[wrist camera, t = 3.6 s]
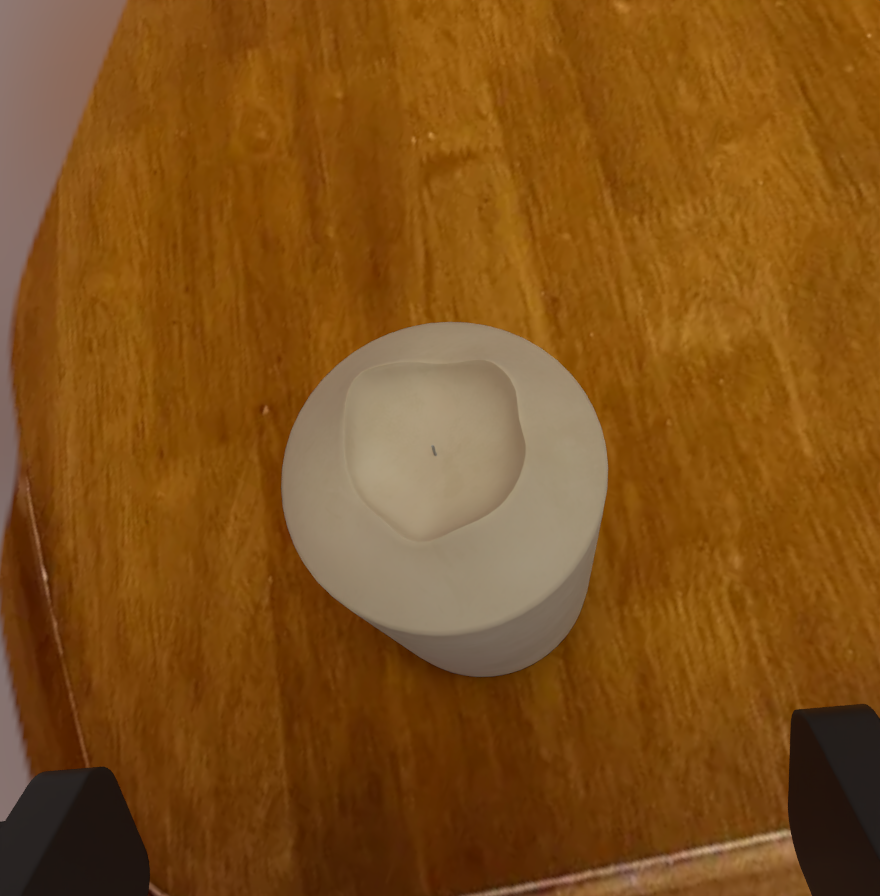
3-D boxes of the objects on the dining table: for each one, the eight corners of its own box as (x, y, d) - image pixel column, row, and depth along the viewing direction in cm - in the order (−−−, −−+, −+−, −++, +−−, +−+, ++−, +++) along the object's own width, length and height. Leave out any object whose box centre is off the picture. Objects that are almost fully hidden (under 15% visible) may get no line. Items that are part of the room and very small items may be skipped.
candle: (339, 568, 22) (182, 437, 13) (486, 433, 23) (438, 217, 14) (478, 726, 20) (413, 707, 11) (633, 573, 21) (695, 434, 12)
